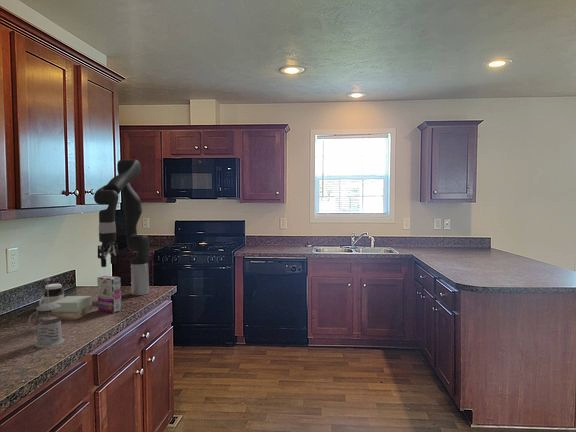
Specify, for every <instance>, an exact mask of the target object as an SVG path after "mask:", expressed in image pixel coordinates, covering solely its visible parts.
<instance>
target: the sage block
mask: <svg viewBox="0 0 576 432" xmlns="http://www.w3.org/2000/svg"><path fill="white" fill-rule="evenodd" d="M52 303H57V304H59V305H61V306H60V308H58V309H55V310H51V311H53V312H78V311H80V310H82V309H84V308H86V307H88V306H90V305H91V306H92V305H93V297H92V295H67V296H64V298H62V299H59V300H57V301H54V302H52Z"/></svg>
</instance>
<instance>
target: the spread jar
mask: <svg viewBox="0 0 576 432" xmlns="http://www.w3.org/2000/svg"><path fill="white" fill-rule="evenodd" d="M62 287H63V285H62V284H61V283H50V284H48V291H47V284H46V285H45V290H44V291H43V295H41V297H40V299H39V301H38V304H39V306H40V305H42V304H45V303H48V299H49V303H52V302H54V301H57V300H59V299H62V298H64V297H65V291H64V289H63V288H62Z"/></svg>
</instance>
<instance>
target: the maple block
mask: <svg viewBox="0 0 576 432" xmlns="http://www.w3.org/2000/svg"><path fill="white" fill-rule="evenodd" d="M90 313H92V305H90V306H88V307H86V308H84V309H82V310H80V311H78V312H53V311H52V310H50V315H59V316H60V317H59V318H58V319H60V320H74V321H75V320H78V319H79V320H80V318H82V317H84V316H86V315H88V314H90Z"/></svg>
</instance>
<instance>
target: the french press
mask: <svg viewBox="0 0 576 432" xmlns="http://www.w3.org/2000/svg"><path fill="white" fill-rule="evenodd" d="M50 281H51V278H49V277H45V278H44V282H46V285H47V291H48V285H49V282H50ZM60 306H61V305H59V304H57V303H49V299H48V303H45V304H42V305H39V306H37V307H36V308H35V310H36V311H34V312H33V313H32V314H30V315H29V318H28V321H27V323H28V327H29V330H31V331H33V332H35V333H36V338H37V339H36V343H35V344H34V346H35V347H36V348H43V349H44V348H51V347H56V346H59V345H61V344H64V342H65V340H66V339H64V338H63V337H62V319H58V318H59V317H60V316H59V315H51V314H50V312H51V311H52V310H55V309H58V308H60ZM47 311H48V314H47V315H43V316H41V317H39V318H37V321H38V322H37V324H36V326H37V327H36V328H35V327H33V326H32V322H31V321H32V320H31V319H32V316H33V315H34V314H35V315H36V317H37V316H38V315H39V312H47ZM48 322H49V323H48Z"/></svg>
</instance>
